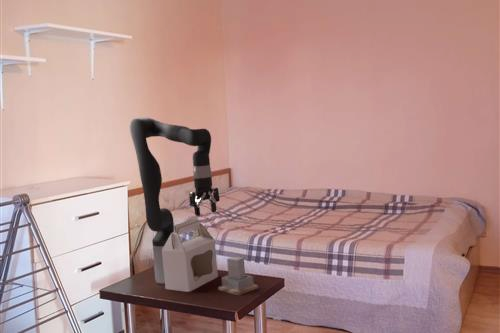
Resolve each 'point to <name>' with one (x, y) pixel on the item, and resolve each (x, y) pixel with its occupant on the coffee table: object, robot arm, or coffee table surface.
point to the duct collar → (237, 283)
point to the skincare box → (236, 268)
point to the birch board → (238, 291)
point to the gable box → (189, 258)
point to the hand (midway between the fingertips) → (205, 214)
